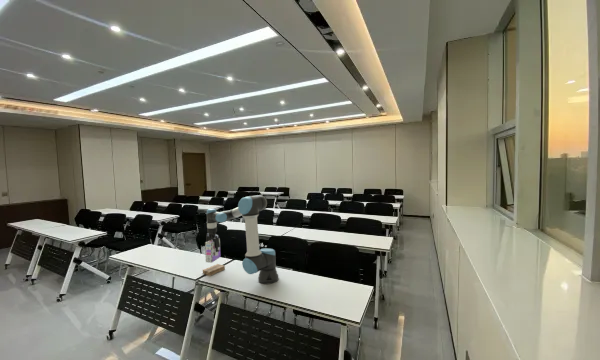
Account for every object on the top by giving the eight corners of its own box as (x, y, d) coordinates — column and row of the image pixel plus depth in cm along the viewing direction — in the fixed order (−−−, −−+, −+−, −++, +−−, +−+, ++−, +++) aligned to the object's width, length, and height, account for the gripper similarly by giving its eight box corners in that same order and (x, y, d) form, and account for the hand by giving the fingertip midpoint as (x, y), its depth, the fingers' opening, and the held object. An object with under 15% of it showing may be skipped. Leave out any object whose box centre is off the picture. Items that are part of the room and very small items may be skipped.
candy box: (212, 262, 200) (211, 242, 199) (205, 262, 201) (204, 242, 200) (221, 256, 213) (220, 237, 213) (214, 256, 215) (213, 237, 214)
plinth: (224, 269, 211) (224, 265, 211) (209, 275, 199) (209, 272, 199) (217, 267, 216) (217, 263, 216) (202, 273, 204) (202, 269, 204)
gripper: (223, 227, 204) (225, 255, 205) (208, 225, 215) (209, 251, 216) (216, 229, 197) (217, 258, 198) (200, 227, 209) (201, 254, 210)
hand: (213, 254), depth 207 cm, fingers closed on candy box, 7 cm apart
